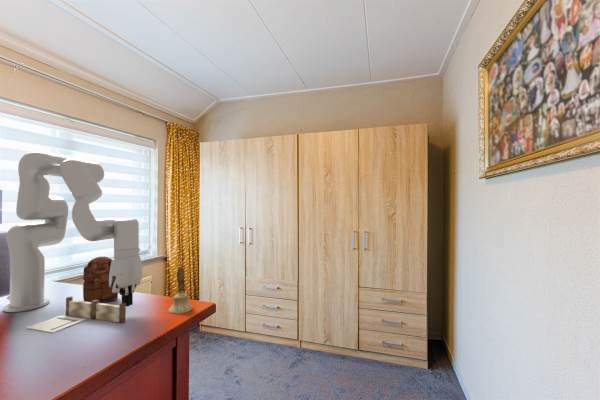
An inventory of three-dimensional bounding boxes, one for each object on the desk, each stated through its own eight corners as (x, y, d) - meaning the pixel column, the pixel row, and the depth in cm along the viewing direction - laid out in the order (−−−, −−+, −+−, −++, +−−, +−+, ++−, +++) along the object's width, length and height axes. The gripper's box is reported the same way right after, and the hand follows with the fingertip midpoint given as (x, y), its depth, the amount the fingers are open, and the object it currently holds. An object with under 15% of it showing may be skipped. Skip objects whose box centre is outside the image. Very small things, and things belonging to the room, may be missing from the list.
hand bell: (181, 315, 100) (181, 270, 100) (163, 312, 103) (163, 268, 103) (197, 307, 108) (197, 265, 108) (180, 304, 111) (180, 263, 111)
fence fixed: (64, 315, 100) (64, 298, 100) (70, 312, 102) (70, 296, 102) (94, 319, 96) (94, 302, 96) (99, 317, 98) (100, 300, 98)
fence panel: (95, 319, 96) (95, 301, 96) (100, 317, 98) (100, 299, 98) (122, 323, 93) (122, 305, 93) (126, 321, 95) (127, 303, 95)
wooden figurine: (83, 307, 107) (83, 260, 107) (82, 302, 112) (83, 257, 112) (120, 300, 114) (120, 256, 115) (117, 296, 119) (118, 254, 120)
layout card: (26, 328, 89) (26, 327, 89) (61, 316, 99) (61, 315, 99) (53, 333, 86) (53, 331, 86) (85, 320, 96) (85, 318, 96)
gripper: (135, 249, 108) (136, 297, 108) (98, 257, 94) (98, 312, 94) (151, 250, 106) (152, 299, 106) (116, 258, 92) (116, 314, 92)
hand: (127, 305), depth 100 cm, fingers closed
